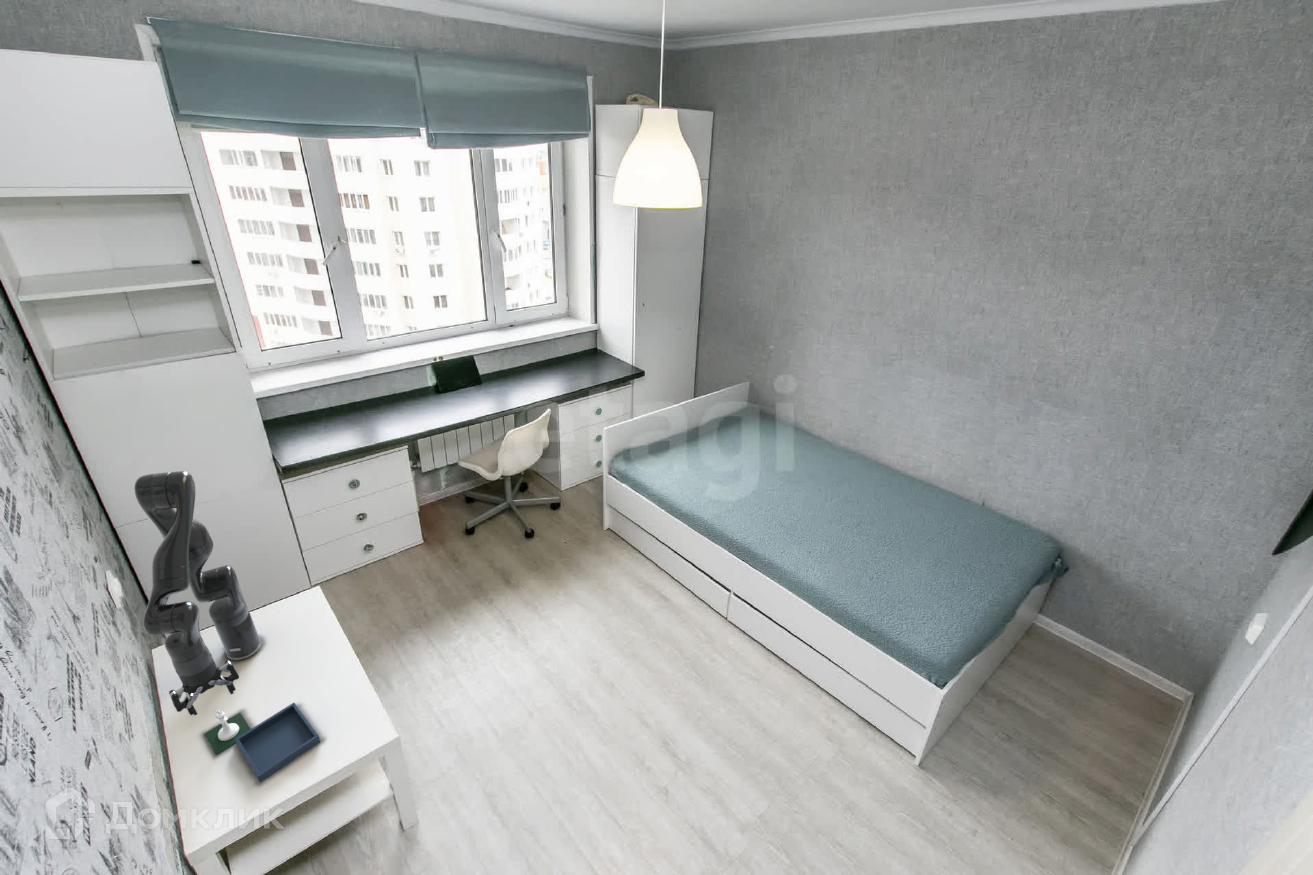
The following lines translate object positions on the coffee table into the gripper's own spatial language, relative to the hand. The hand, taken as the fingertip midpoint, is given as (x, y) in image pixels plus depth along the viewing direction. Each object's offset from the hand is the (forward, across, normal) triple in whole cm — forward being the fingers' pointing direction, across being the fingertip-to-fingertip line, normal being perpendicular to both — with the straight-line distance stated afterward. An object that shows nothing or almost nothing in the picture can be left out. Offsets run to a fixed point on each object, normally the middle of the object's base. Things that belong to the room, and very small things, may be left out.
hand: (213, 702), depth 160 cm
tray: (+14, -8, +13) cm, 21 cm away
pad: (+14, 0, 0) cm, 14 cm away
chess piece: (+13, 0, 0) cm, 13 cm away
